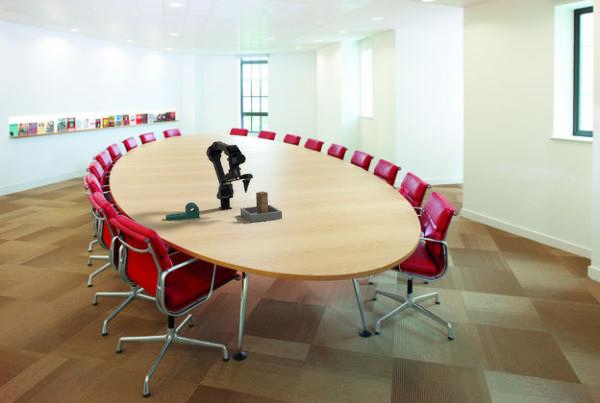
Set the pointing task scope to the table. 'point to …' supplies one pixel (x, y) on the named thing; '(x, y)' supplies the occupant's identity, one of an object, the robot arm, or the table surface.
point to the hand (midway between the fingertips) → (239, 194)
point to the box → (252, 215)
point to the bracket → (187, 214)
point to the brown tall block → (262, 202)
